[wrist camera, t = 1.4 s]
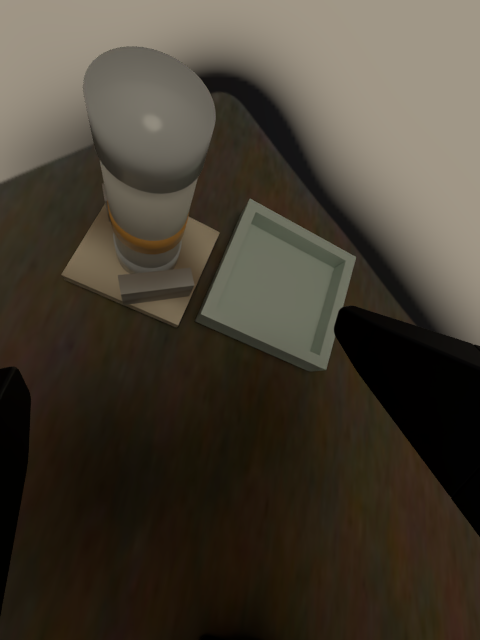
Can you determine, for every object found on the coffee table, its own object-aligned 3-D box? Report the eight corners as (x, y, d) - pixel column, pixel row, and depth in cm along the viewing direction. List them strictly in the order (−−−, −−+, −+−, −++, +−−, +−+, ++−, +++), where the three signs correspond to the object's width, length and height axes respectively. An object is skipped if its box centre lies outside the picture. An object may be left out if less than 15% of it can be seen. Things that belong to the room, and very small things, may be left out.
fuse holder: (175, 330, 22) (181, 320, 18) (63, 282, 20) (47, 262, 17) (217, 236, 24) (229, 212, 21) (121, 187, 22) (117, 153, 19)
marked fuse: (183, 276, 21) (226, 157, 10) (121, 283, 20) (93, 154, 9) (172, 222, 22) (202, 55, 11) (111, 225, 21) (74, 37, 10)
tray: (309, 371, 24) (326, 370, 22) (194, 321, 22) (200, 314, 20) (338, 267, 27) (356, 257, 25) (240, 215, 25) (250, 198, 23)
